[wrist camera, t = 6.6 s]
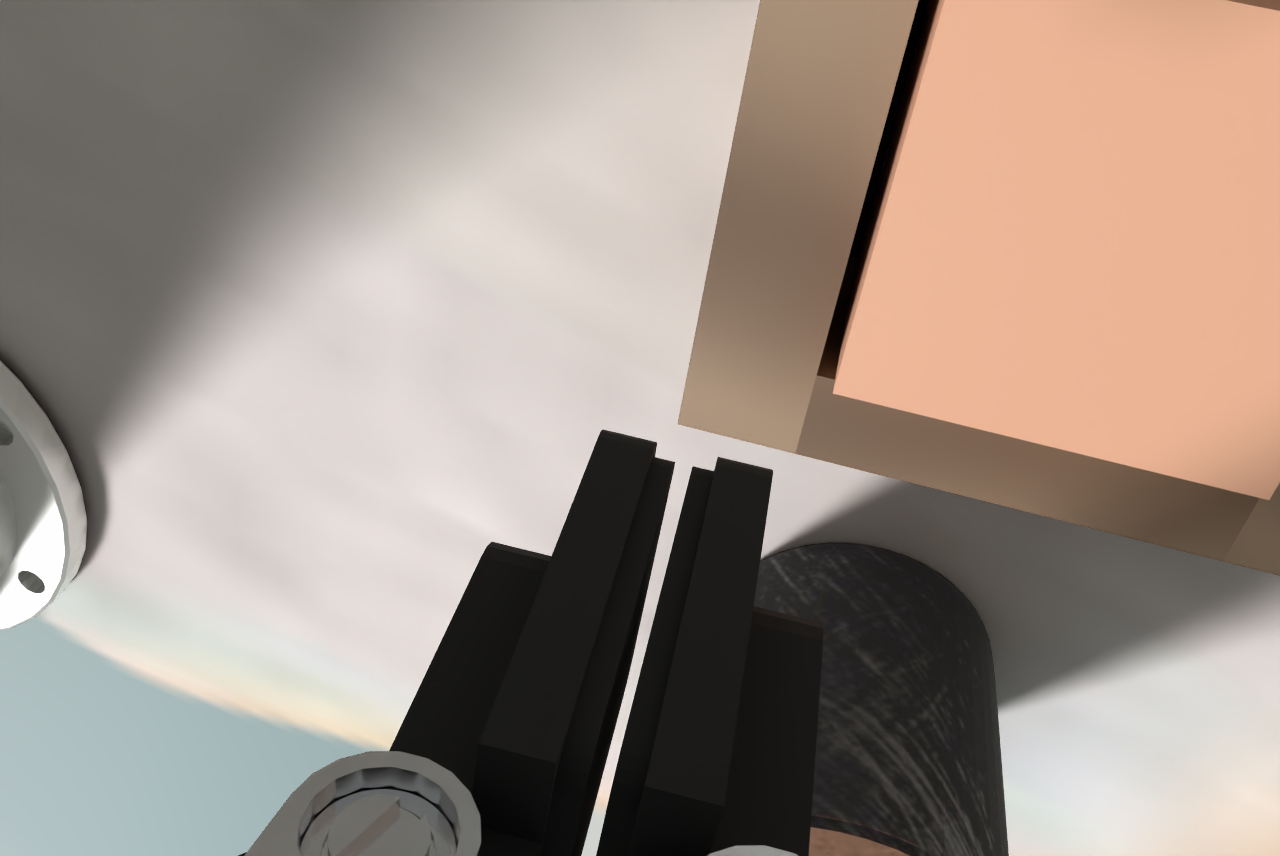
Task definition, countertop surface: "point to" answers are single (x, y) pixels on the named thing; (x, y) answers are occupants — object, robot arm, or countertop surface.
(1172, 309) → the peach square block
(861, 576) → the travel mug
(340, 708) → the countertop surface
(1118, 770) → the countertop surface
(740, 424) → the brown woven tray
